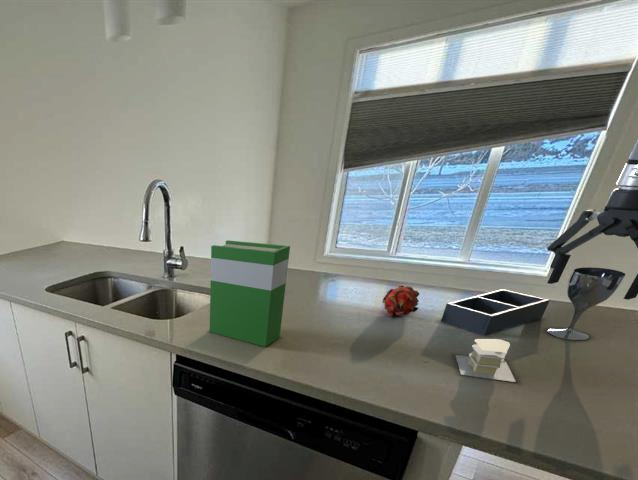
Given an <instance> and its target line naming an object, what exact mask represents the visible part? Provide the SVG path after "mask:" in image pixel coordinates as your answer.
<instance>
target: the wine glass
mask: <svg viewBox="0 0 638 480" xmlns="http://www.w3.org/2000/svg"><path fill="white" fill-rule="evenodd" d="M625 277H626V273H625V272H623V271H620V270H616V269H612V268H605V267H592V266H591V267H588V266H587V267H577V268H574V270H573V271H572V273H571V275H570V278H569V280H568V284H567V288H566V296H567V298H568V299H569V301H570V302H571V304H572V305H573V309H574V313H573V316H572V319H571V322H570V324H569V325H568V327H567V328H564V327H553V328H549V329H548V330H547V333H548V334H549V335H551V336H553V337H556V338H560V339H565V340H570V341H586V340H589V338H590V336H589V335H588V334H587V333H585V332H583V331H579V330H575V329H574V328H575V326H576V323H577V322H578V320H579V319H580V318H581V316H582V315H583V314H584V313H585V312H586V311H587V310H589V309H591V308H593V307H595V306H597V305H599V304H601V303H604V302H605V301H607V300H608V299H610V298H611V297H612V296H613V295H614V294H615V292H616V291H617V290H618V289H619V287H620V285H621V284H622V282H623V280H624V279H625Z"/></svg>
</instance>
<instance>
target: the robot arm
mask: <svg viewBox="0 0 638 480" xmlns="http://www.w3.org/2000/svg"><path fill="white" fill-rule="evenodd" d="M615 184H616V186H618V187H616V188H614V189H613V190H612V191H611V193H610V195H609V197H608V200H607V201H606V204H605V206H604V209H603V210H602V211H596V209H594V208H592V209H587V210H584V211H582V212H581V214H580V215H579V218H577V220H576V221H575V222H574V223H573V224H572V225H571V226H569V228H567V230H565V231H564V232H563V233H562V234H561V235H559V236H558V237H557V238H556V239H555V240H554V241H553V242H552V243H550V244H549V245H548V246H547V248H546V249H547V251H549V252H553V253H554V256H553V259H552V261H551V263H550V269H552V271H551V274H550V276H549V278H548V280H547V284H548V285H552V284H556V283H559V281H560V279H561V277H562V275H563V273H564V271H565V269H566V266H567V264H568V262H569V260H570V258H571V256H572V254H569V253H570V252H572V250H575V249H576V248H578V247H580V246H582V245H583V244H585V243H587V242H589V241H591V240H592V239H595V238H596V237H597V236H600V235H602V234H604V236H616V237H620V238H626V237H629V238H630V239H631V240H632V241H633V243H634V244H635V246H636V249H638V139H637V140H636V142H635V144H634V146H633V148H632V151H631V152H630V155H629V157H628V159H627V161H626V163H625V165H624V167H623V169H622V171H621V173H620V175H619V178H618V180H616V183H615ZM595 219H596V220H597V222H598V225H597V226H595V227H594V228H592V229H589V230H588V232H586V233H584V234H583V235H580V236H579V237H578V238H575V239H574V240H572V241H570V240H571V239H572V238H573V237H574V236H575V235H576V234H578V233H579V232H580V231H581V230H582V229H584V228H585V227H586V226H588V224H589V223H590V222H593V221H595ZM569 241H570V242H569ZM566 243H567V244H566ZM637 297H638V273H637V274H636V276H635V277H634V279H633V281H632V283H631V284H630V286H629V287H628V289H627V291H626V293H625V295H624V297H623V300H627V301H628V300H632V299H635V298H637Z"/></svg>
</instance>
